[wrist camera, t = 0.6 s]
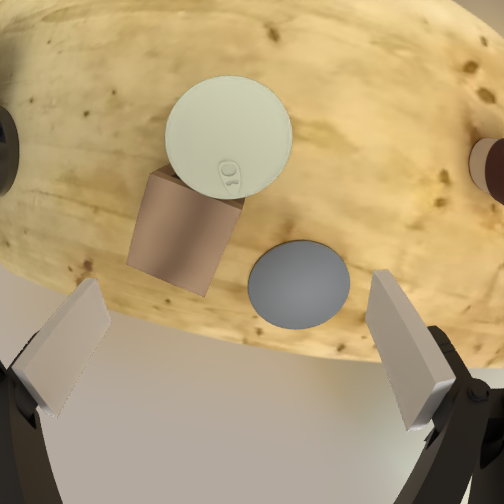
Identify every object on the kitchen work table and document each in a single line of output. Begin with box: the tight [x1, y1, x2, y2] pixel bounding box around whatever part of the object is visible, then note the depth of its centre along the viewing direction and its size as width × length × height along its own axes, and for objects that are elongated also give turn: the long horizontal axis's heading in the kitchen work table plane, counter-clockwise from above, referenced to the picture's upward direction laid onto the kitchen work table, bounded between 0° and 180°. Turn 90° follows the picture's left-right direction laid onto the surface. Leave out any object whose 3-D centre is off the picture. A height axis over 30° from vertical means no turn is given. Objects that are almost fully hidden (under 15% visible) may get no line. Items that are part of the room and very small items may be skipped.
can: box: [165, 75, 293, 199], centre depth 24 cm, size 9×9×12 cm
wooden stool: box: [126, 163, 245, 297], centre depth 29 cm, size 8×9×10 cm
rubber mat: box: [248, 240, 350, 329], centre depth 37 cm, size 13×13×1 cm
